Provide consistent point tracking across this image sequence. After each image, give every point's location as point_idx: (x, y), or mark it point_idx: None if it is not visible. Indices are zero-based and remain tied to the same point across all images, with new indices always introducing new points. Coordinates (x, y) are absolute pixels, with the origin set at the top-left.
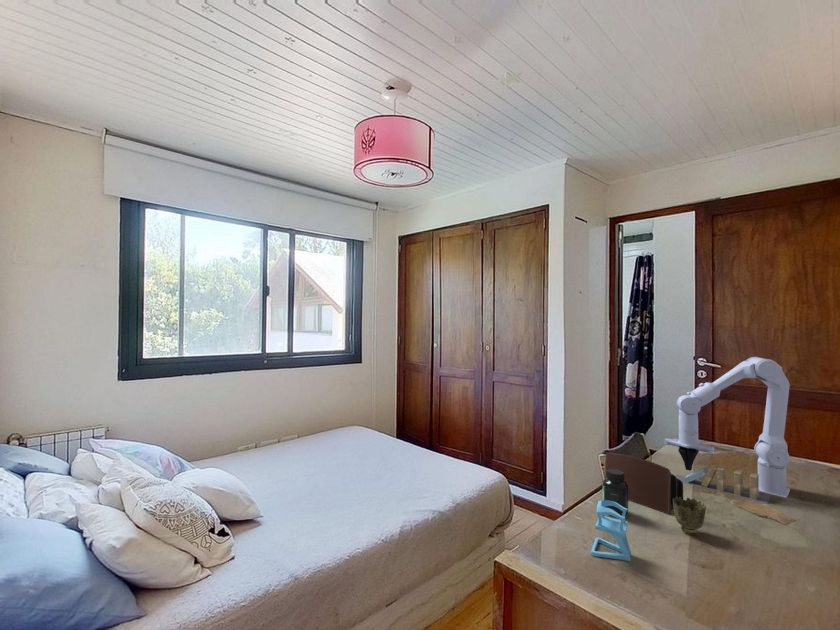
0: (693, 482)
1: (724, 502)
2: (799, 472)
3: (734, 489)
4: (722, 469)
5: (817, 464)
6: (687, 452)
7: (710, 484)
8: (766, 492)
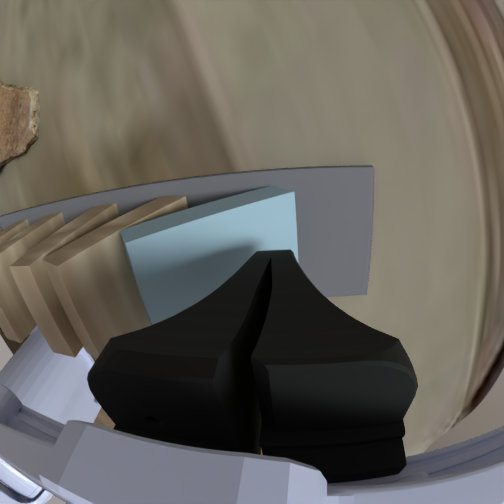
0: None
1: (54, 86)
2: None
3: (43, 223)
4: (20, 286)
5: None
6: (211, 356)
7: None
8: None
